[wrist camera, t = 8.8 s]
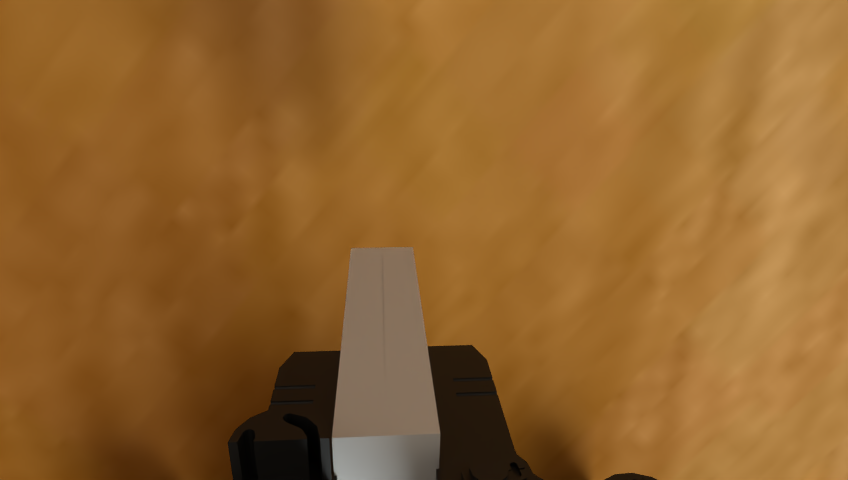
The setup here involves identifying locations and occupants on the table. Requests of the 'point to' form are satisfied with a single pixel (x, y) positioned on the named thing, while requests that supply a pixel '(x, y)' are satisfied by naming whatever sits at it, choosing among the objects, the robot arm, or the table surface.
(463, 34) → the table surface
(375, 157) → the table surface
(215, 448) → the table surface
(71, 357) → the table surface
